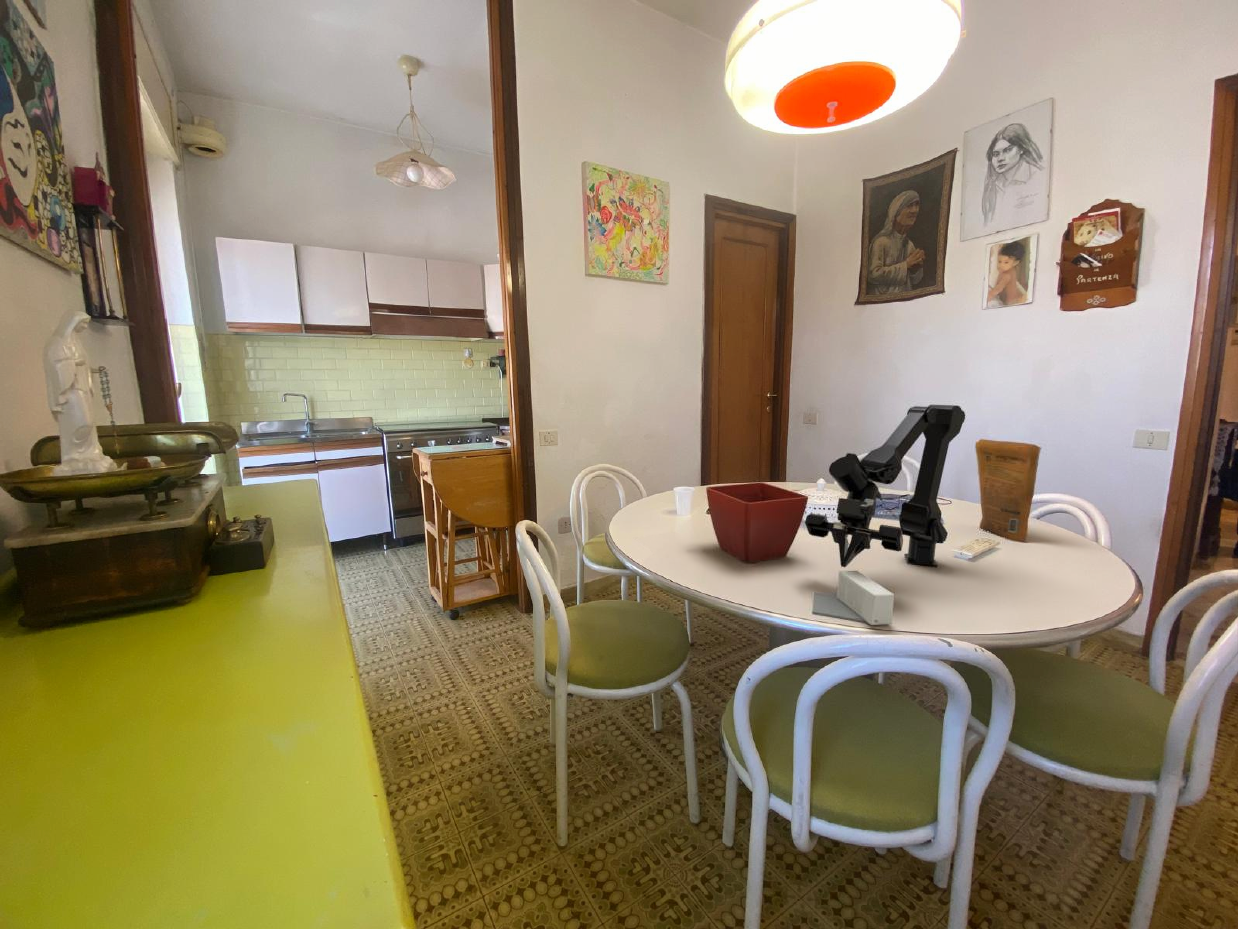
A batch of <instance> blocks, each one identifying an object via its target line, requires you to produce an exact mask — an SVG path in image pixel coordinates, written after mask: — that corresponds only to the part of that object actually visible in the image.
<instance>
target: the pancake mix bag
mask: <svg viewBox="0 0 1238 929" xmlns="http://www.w3.org/2000/svg"><path fill="white" fill-rule="evenodd" d="M974 445H975V446H974V449H975V454H976V462H977V474H978V484H979V494H980V496H979V498H980V508H981V509H980V510H981V520H980V523H979V529H980V528H981V529H983V530H982V531H984V530H985V531H984V532H987V531H989V532H991V533H990V534H992V533H993V535H995V534H997V535H996V536H998V535H999V536H998V537H1001V538H1003V537H1005V538H1004V539H1006V538H1007V539H1006V540H1008V539H1010V540H1009V541H1013V542H1019V541H1021V542H1020V543H1028V530H1029V529H1028V528H1029V518H1030V515H1031V514H1030V513H1031V507H1032V502H1033V497H1034V494H1035V485H1036V480H1037V472H1038V466H1039V461H1040V455H1041V454H1040V453H1041V450H1042V447H1041V446H1038V445H1036V444H1031V443H1026V442H1015V441H1004V440H1003V441H1002V440H993V439H991V440H990V439H984V438H983V439H981V438H980V439H979V440H978V441H975V444H974ZM981 529H980V530H981ZM989 532H988V533H989Z"/></svg>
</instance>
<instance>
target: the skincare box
mask: <svg viewBox="0 0 1238 929" xmlns="http://www.w3.org/2000/svg"><path fill="white" fill-rule="evenodd" d="M836 595H837V598H838V599H839V600H840V601H842V602H843V603H844V604H845V605H847V606H848V607H849V608H850V609H852V610H853V611H854V612H855V613H857V614H858V615H859V616H860V617H862V618H863V619H864V620H866V621H867V622H868V623H867V624H869V625H871V626H874V625H875V626H877V625H892V623H893V614H894V613H893V612H894V604H895V603H894V602H895V594H894V593H893V592H891V591H889V590H888V589H886V588H885V587H883V586H882V585H880V584H878V583H877V582H875V581H874V580H873V579H871V578H869V577H868V576H866V575H865V574H863V573H862V572H860V571H859V570H840V571H838V578H837V591H836Z"/></svg>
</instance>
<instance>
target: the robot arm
mask: <svg viewBox="0 0 1238 929" xmlns="http://www.w3.org/2000/svg"><path fill="white" fill-rule="evenodd" d="M965 420H966V413H965V410H962V407H961V406H960V405H956V404H955V405H953V404H952V405H951V404H950V405H949V404H929V405H928V406H922V405H921V406H919V405H914V406H912V407H911V406H910V408H908V410H907V412H906V416H904V418H903V419H902V421H901V422H900V423H899V425H898V426H897V427H896V428H895V429H894V430H893V432H892V433H891V434H890V435H889V437H888V438H887V439H886V441H885V442H884V443H883V444H882V445H881V446H880V447H877V448H875V449H873V450H872V449H871V450H870V452H868V453H867V454H865V456H864V457H863V458H862V459H861V460H860V459H859V457H858V455H857V454H856V453H851V452H847V453H846V454H845V456H841V457H840V458H838V459H836V460H835V461H833V462H831V463H830V465H829V468H828V473H829V474H830V476H831V477H832V478H833V479H834V481H835V482H836V483H837V485H838V486H839V487H840V488H841V490H842V491H844V492H846V493H847V497H846V498H843V497H839V498H838V502H837V507H836V511H835V512H836V514H838V515H837V517H836V518H837V521H833V522H829V520H828V518H827V515H824V514H817V513H809V514H808V515H807V516H806V517H805V521H804V524H805V526H806V527H805V528H806V530H807V533H808V534H809V535H810V536H813V537H818V538H825V537H828V536H829V533H830V532H831V536H832V539H833V542H834V543H836V544H838V551H839V559H840V566H841V567H842V568H846V567H847V566H848V565H849V564H850V563H851V562H852V561H853V560H854V559H855V558H856V557H857V556H858V555H860V553H862V552H863V551H864V550H870V549H871V541H872V540H877V541H881V543H880V544H881V546H882V547H883V549H884V550H888V551H893V552H901V551H903V550H902V549H903V544H904V537H903V536H907V537H909V539H908V550H907V553H904V558H905V560H906V562H907V564H912V565H920V566H928V567H936V568H937V567H939V564H938V563H937V561H936V559H935V558H936V557H935V555H936V554H935V553H936V546H937V545H936V544H944V542H946V540H947V538H948V531H947V529H946V528H945V526H944V524H943V523H942V510H941V509H940V506H939V503H938V500H937V499H938V495H939V490H940V488H941V487H940V485H941V483H942V482H941V481H942V477H943V473H944V469H945V463H946V459H947V455H948V450H949V446H950V443H951V442H952V441H953V440H954V439H955V438H956V437H957V436H958V435H959V434H960V433H961V430H962V427H963V424H964V423H965ZM922 434H923V436H924V438H925V440H924V441H925V442H924V446H923V450H922V455H921V459H920V460H921V461H920V464H919V469H918V474H917V477H916V478H917V479H916V483H915V487H914V493H913V496H912V497H911V498H910V499H909V500H908V501H903V503H902V504H901V509H900V514H899V515H898V518H899V519H898V520H899V526H893V525H887V524H880V525H879V527H878V529H872V528H870V524H871V521H872V518H873V517H874V516H875V514H876V506H877V499H882V494H881V492H880V490H879V487H878V486H877V483H878V484H881V485H891V484H893V483H894V482H895V481H896V480H897V478H898V477H899V474H900V473H901V471H902V470H903V466H902V464H903V463H902V461H903V459H904V458H905V456H906V454H907V453H908V452H909V450H910V449H911V448H912V446H914V444H915V443H916V442H917V440H918V439H919V438H920V437H921V435H922ZM839 521H840V522H839ZM848 536H851V538H850V539H851V540H850V541H849V538H848Z"/></svg>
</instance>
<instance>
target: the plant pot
mask: <svg viewBox="0 0 1238 929" xmlns="http://www.w3.org/2000/svg"><path fill="white" fill-rule="evenodd" d="M705 490H706V497H707V505H708V510H709V515H710V519H711V524H712V528H713V531H714V534H715V537H716V540H717V544H718V546H719V548H720V549H722V550H723V551H725V552H726V553H728V554H730V555H732V556H733V557H735V558H737V559H739V560H740V561H742V562H744V563H755V562H762V561H768V560H769V561H770V560H776V559H782V558H785V557H787V555H788V553H789V551H790V549H791V547H792V545H793V543H794V541H795V539H796V537H797V534H798V532H799V529H800V528H801V527H800V526H801V523H802V521H803V518H804V516H805V512H806V508H807V505H808V500H809V496H808V495H804V494H802V493H798V492H795V491H792V490H789V489H786V488H781V487H779V486H776V485H773V484H768V483H765V482H748V483H737V484H727V485H726V484H725V485H715V486H714V485H713V486H707V487H706V488H705Z"/></svg>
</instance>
